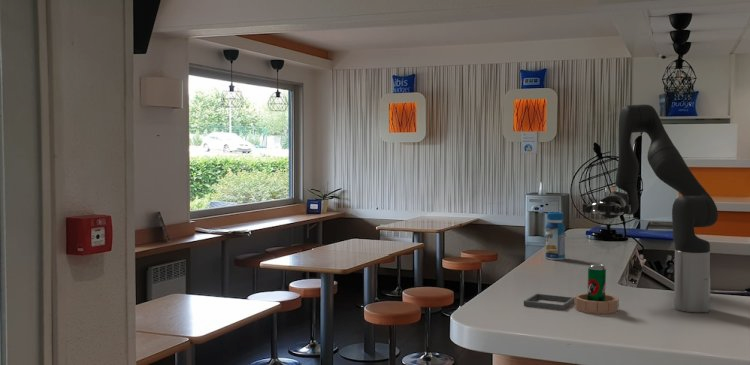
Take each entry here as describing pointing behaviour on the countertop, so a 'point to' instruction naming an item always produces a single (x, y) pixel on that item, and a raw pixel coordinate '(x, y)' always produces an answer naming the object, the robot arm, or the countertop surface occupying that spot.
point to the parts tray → (567, 303)
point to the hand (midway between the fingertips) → (601, 210)
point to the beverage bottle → (555, 236)
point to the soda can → (596, 283)
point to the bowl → (596, 305)
